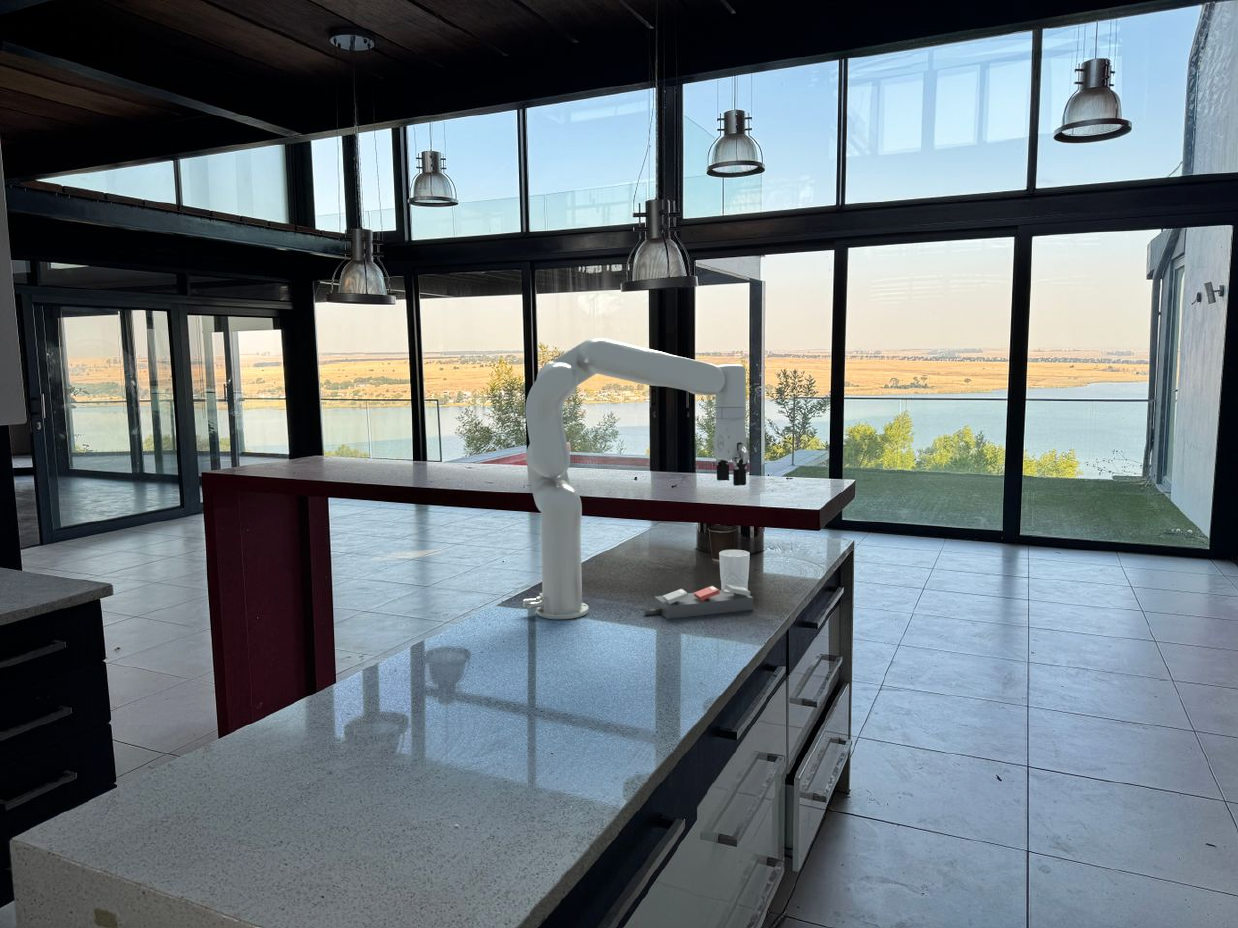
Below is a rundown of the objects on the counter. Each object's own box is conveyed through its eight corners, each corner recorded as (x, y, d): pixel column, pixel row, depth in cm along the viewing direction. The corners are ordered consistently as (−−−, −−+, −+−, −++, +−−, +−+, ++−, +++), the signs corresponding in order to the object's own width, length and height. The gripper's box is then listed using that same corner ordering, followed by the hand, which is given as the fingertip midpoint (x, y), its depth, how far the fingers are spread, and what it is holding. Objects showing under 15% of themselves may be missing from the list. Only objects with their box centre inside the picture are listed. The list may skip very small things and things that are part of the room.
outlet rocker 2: (701, 600, 203) (700, 596, 203) (694, 596, 207) (693, 592, 207) (719, 593, 205) (718, 589, 204) (713, 589, 208) (712, 585, 208)
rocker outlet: (731, 592, 205) (732, 587, 205) (724, 588, 209) (725, 583, 209) (749, 595, 207) (750, 591, 207) (742, 591, 211) (743, 587, 211)
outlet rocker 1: (669, 604, 201) (668, 599, 201) (663, 599, 205) (662, 595, 205) (688, 596, 202) (687, 592, 202) (682, 592, 206) (681, 588, 206)
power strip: (651, 620, 200) (651, 605, 199) (639, 610, 208) (639, 595, 208) (753, 609, 207) (753, 595, 207) (737, 599, 216) (737, 585, 215)
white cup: (751, 594, 221) (751, 556, 219) (720, 594, 221) (720, 556, 219) (747, 586, 228) (747, 549, 227) (717, 586, 229) (717, 549, 227)
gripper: (702, 413, 219) (703, 479, 221) (731, 417, 203) (732, 488, 205) (729, 411, 222) (730, 477, 224) (760, 415, 205) (760, 486, 207)
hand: (731, 482), depth 214 cm, fingers open, 9 cm apart
